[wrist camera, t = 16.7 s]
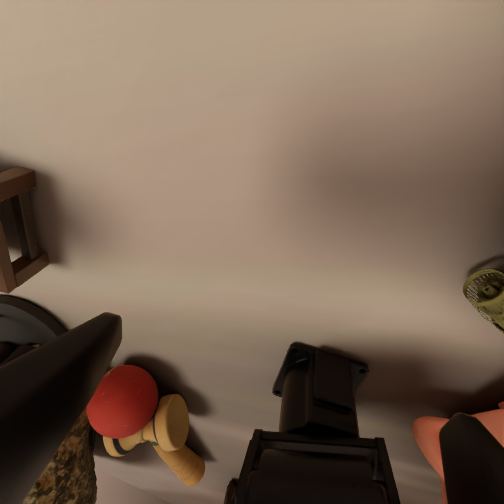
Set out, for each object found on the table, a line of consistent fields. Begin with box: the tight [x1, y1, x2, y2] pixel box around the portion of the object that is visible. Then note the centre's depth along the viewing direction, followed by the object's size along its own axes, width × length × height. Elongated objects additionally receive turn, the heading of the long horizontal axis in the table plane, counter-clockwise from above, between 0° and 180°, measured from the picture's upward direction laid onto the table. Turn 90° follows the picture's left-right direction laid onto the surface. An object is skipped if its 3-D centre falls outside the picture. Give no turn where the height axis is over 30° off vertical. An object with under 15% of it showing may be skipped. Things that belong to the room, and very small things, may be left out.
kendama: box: [86, 365, 205, 486], centre depth 31 cm, size 8×6×18 cm
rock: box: [22, 408, 97, 504], centre depth 30 cm, size 21×20×15 cm
